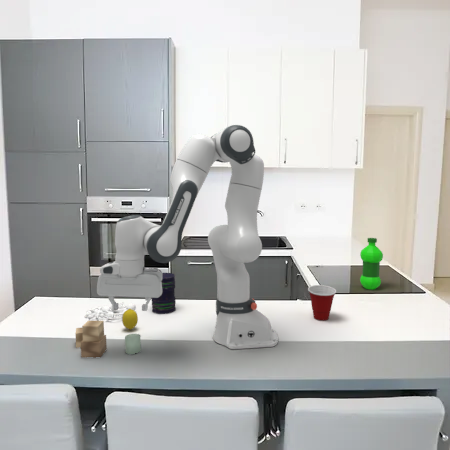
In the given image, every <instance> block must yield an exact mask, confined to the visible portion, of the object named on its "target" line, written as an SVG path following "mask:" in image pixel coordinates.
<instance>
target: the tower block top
mask: <svg viewBox="0 0 450 450" xmlns="http://www.w3.org/2000/svg"><path fill="white" fill-rule="evenodd" d="M104 323H105V321H104V320H87V321H86V322H85V323H84V324H83V325H82V326H81V328H82V332H83V342H99V341H100V340H101V339H102V338H103V336H104V335H105V327H104V326H105V325H104Z"/></svg>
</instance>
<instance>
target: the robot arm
mask: <svg viewBox="0 0 450 450" xmlns="http://www.w3.org/2000/svg"><path fill="white" fill-rule="evenodd" d="M253 137H254V136H253V133H252V132H251V131H250V130H249V128H247V127H245V126H243V125H241V124H233V125H232V124H231V125H229V126H228V127H227V126H226V127H224V128H222V129H220V131H218V132H217V133H215V134H214V135H212V136H211V137H209V136H208V135H206V134H202V133H196V134H193V135H191V136H190V137H189V139H188V140H187V141H186V143H185V144H184V146H183V147H182V149H181V150H180V153H179V154H178V156H177V158H176V160H175V163H174V165H173V167H172V170H171V173H170V178H169V181H170V186H171V189H172V194H173V195H172V200H171V203H170V205H169V208H168V210H167V213H166V215H165V218H164V220H163V222H162V224H161V225H160V224H157V223H153V222H151V221H149V220H147V219H146V218H144V217H143V216H141V215H137V214H135V215H127V216H124V217H120V219H118V220H117V222H116V225H115V229H114V230H115V231H114V232H115V234H114V245H115V250H116V253H115V256H114V257H115V259H114V260H115V261H112V262H108V263H106V264H104V265H101V266H100V268H99V276H98V278H97V284H96V293H97V295H98V296H100V297H108V302H110V304H111V306H112V309H113V310H117V311H118V310H119V309H118V308H119V306H118V305H119V304H120V303H119V302H116V300H115V298H116V297H121V298H122V297H124V298H126V297H127V298H145V299H144V300H145V301H146V302H145V303H143V304H141V311H142V312H148V310H149V309H148V307H149V306H148V305H149V303H150V302H151V301H152V298H158V297H160V296H161V294H162V282H161V281H162V279H163V273H164V272H163V271H162V270H161V269H159V268H158V267H145V256H146V255H149V257H150V258H151V260H153V261H154V262H157V263H161V264H168V263H170V262H173V261H174V260H176V259H177V257H179V255H180V253H181V250H182V241H183V239H182V237H183V232H184V229H185V227H186V224H187V221H188V219H189V216H190V214H191V211H192V209H193V207H194V204H195V201H196V198H197V197H198V196H199V193H200V191H201V189H202V186H203V185H204V183H205V181H206V179H207V177H208V175H209V172H210V171H211V168H212V166H213V164H214V163H215V162H219V163H229V165H230V168H231V175H230V180H229V184H228V189H227V193H226V198H225V202H224V203H225V204H224V208H225V211H226V214H227V216H226V218H227V224H219V225H217V226H214V227H213V228H212V229H211V230H210V231H209V233H208V236H207V243H208V245H209V247H210V249H211V253H212V257H213V262H214V266H215V267H214V268H215V273H216V286H217V288H216V290H217V292H216V294H217V295H216V300H215V312H216V313H215V314H216V322H215V326H214V327H215V328H214V331H213V332H214V333H213V335H212V340H213V341H214V342H216V343H218V344H220V345H222V346H225V347H226V348H228V349H230V350H241V349H243V350H244V349H256V348H257V349H258V348H270V347H271V348H273V347H275V346H277V344H278V342H279V336H278V332H276V331H275V330H274V329H272V325H271V321H270V319H269V318H268V317H267V316H266V315H264V314H263V312H260V311H259V310H258V309H257V308H258V304H257V303H256V300H255V299H254V298H253V297H252V298H251V297H250V294H251V293H250V287H251V286H250V284H251V283H250V280H251V279H250V274H249V272H248V270H247V268H246V265H245V263H252V262H254V261H256V260H257V259H258V258H259V257H260V256H261V253H262V250H263V244H262V240H261V238H260V235H259V230H258V221H257V220H258V210H259V204H260V199H261V194H262V189H263V183H264V175H265V163H264V161H263V159H262V158H261V157H260V156H258V155H256V148H255V144H254V142H255V141H254V138H253Z"/></svg>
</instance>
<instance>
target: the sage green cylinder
mask: <svg viewBox="0 0 450 450" xmlns="http://www.w3.org/2000/svg"><path fill="white" fill-rule="evenodd" d="M124 344H125V345H124V348H125V354H126V353H127V355H129V354H134V355H136V354H135V353H138V352H140V351H141V348H142V347H141V346H142V345H141V334H139V333H129V334H126V335H125V337H124ZM141 352H142V351H141ZM141 352H140V353H141ZM138 354H139V353H138Z"/></svg>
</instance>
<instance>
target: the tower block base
mask: <svg viewBox="0 0 450 450" xmlns="http://www.w3.org/2000/svg"><path fill="white" fill-rule="evenodd" d="M107 347H108V345H107V334H104V336H103V338H102V339H101V340H100V341H99V342H83V340H82V341H81V347H80V355H81V356H80V357H81V358H87V357H93V358H92V359H94V358H96V357H100V358H102V356H103V355H104V354H105V353H106V351H107V350H108V348H107ZM106 349H107V350H106ZM105 350H106V351H105ZM103 353H104V354H103ZM87 359H88V358H87Z"/></svg>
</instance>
